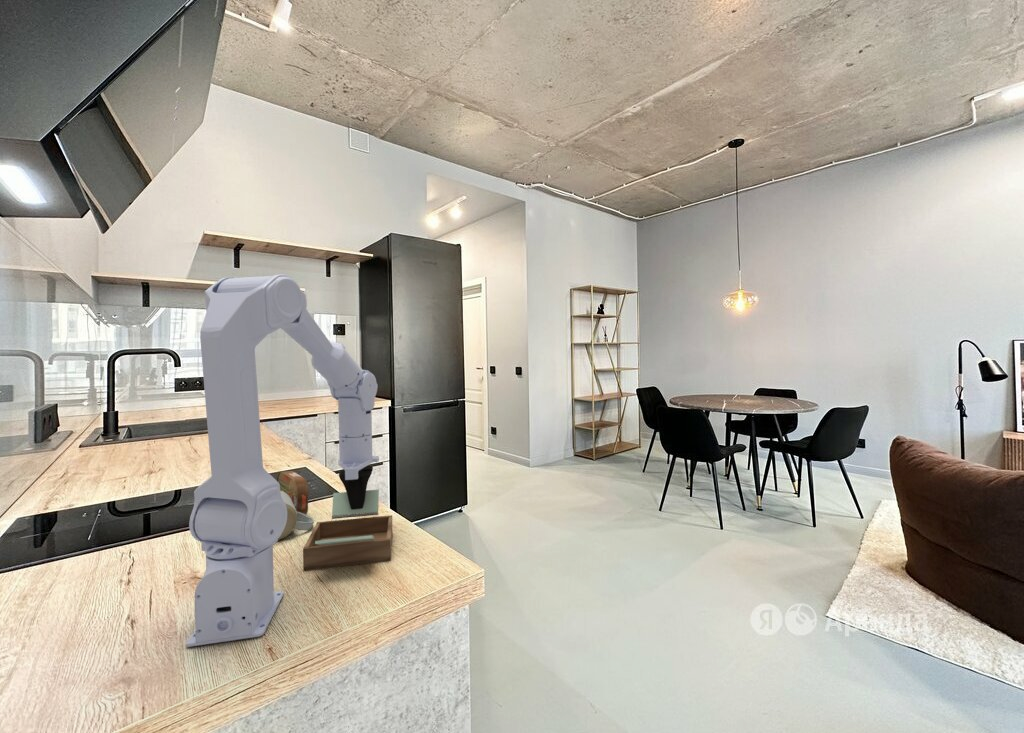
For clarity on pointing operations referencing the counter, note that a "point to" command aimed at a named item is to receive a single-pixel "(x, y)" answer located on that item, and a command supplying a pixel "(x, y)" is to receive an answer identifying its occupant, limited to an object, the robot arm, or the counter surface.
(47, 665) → the counter surface
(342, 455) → the robot arm
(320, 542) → the flap near
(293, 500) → the tin
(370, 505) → the flap far
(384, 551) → the crate
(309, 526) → the ceramic mug
